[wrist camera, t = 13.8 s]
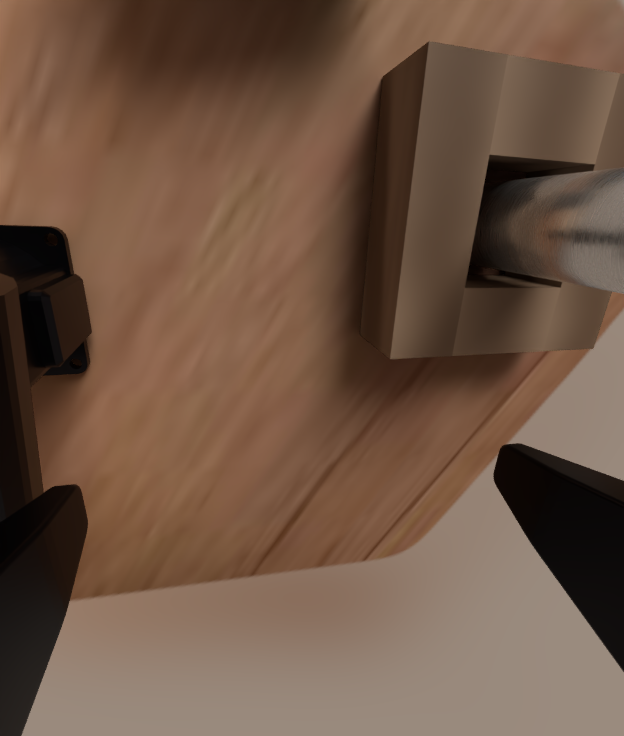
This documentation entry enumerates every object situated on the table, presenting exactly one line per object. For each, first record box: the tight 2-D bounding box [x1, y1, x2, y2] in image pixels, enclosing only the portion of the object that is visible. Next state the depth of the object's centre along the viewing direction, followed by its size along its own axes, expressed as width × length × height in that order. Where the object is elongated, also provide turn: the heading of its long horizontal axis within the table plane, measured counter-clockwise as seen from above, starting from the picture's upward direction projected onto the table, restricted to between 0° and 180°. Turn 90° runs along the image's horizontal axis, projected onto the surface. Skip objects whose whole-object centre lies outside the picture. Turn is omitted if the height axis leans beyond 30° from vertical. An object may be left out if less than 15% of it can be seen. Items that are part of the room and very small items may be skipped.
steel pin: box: [469, 167, 624, 294], centre depth 15 cm, size 4×4×12 cm
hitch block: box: [360, 41, 624, 359], centre depth 19 cm, size 12×12×4 cm
